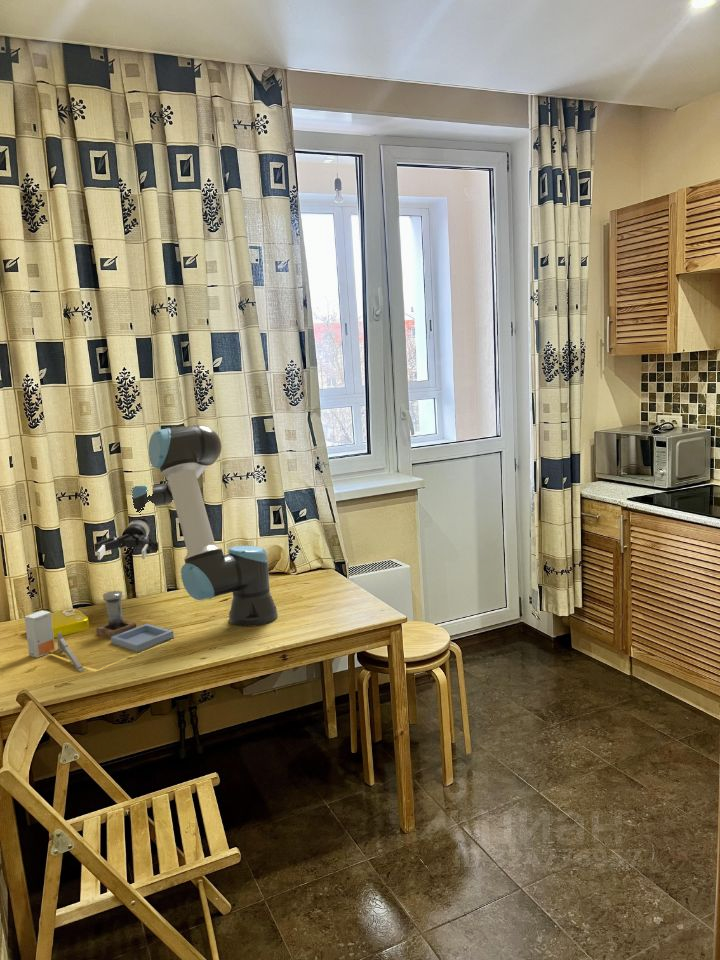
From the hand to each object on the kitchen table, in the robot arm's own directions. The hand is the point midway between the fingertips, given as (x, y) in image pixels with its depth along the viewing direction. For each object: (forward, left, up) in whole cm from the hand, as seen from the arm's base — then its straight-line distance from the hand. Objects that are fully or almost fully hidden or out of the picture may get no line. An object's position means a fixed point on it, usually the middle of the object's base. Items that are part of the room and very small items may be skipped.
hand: (120, 555), depth 233 cm
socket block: (-4, +7, -23) cm, 24 cm away
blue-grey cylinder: (-4, +7, -22) cm, 23 cm away
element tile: (+15, +15, -23) cm, 31 cm away
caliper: (-11, +27, -23) cm, 37 cm away
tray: (-17, +7, -23) cm, 29 cm away
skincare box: (+2, +28, -23) cm, 36 cm away
